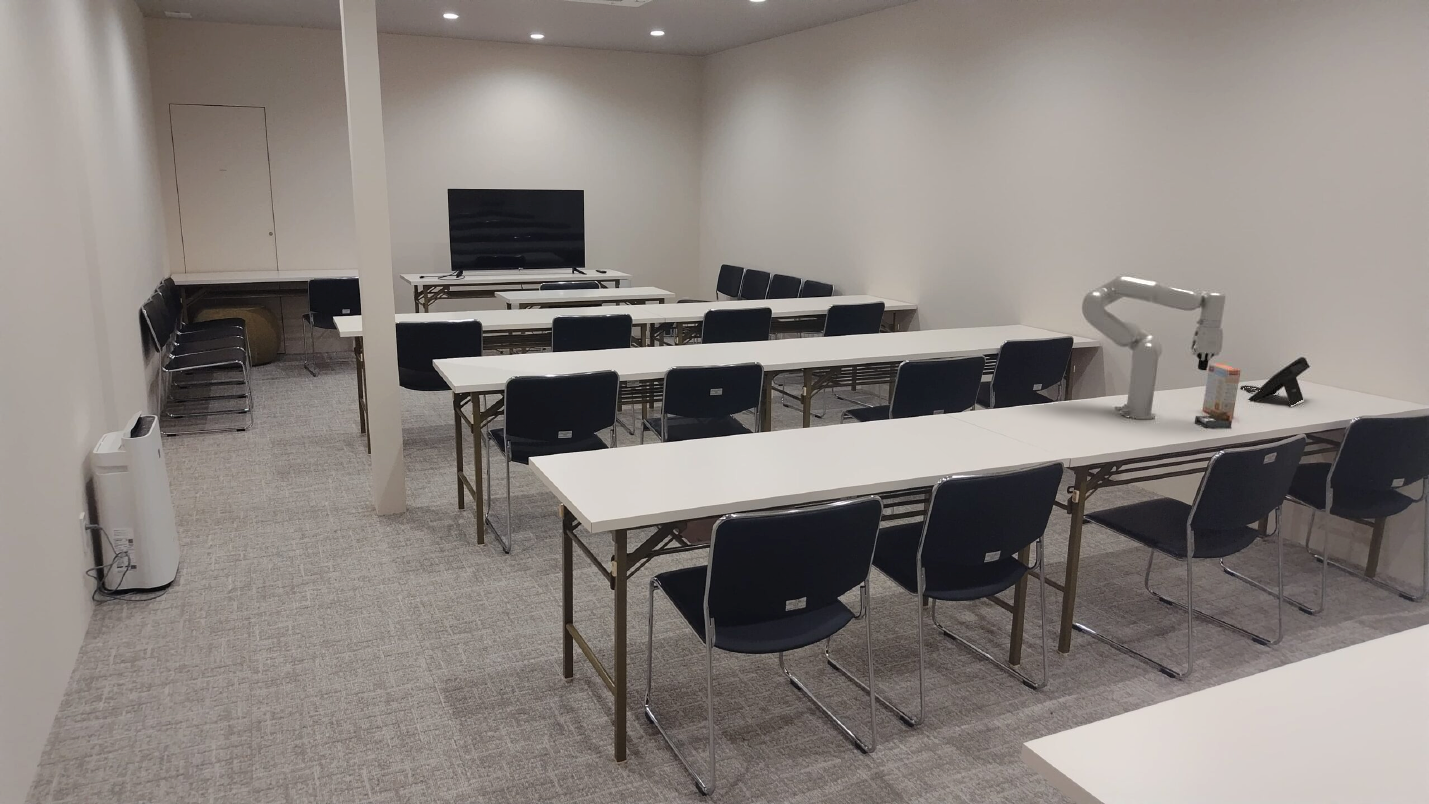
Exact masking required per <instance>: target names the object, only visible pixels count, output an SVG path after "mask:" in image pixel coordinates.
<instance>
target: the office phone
mask: <svg viewBox="0 0 1429 804" xmlns="http://www.w3.org/2000/svg"><path fill="white" fill-rule="evenodd" d="M1310 367H1311V366H1310V365H1309V363H1308V361H1307V358H1305V357H1304V356H1301V357H1299V358H1297V359H1295V360H1294V361H1293V362H1291V363H1289V364H1288V365H1286V366H1285V367H1283V368H1282V369H1281V370H1279V371H1278V372H1277V373H1275V374H1273V376H1271V377H1270V378H1269V379H1268V380H1267V381H1266V382H1265V383H1264V384H1263V385H1262V386H1260V387H1258V386H1255V385H1240V389H1241V388H1242V389H1243V388H1244V390H1243V391H1245V390H1247V391H1248V393H1250V392H1251V393H1253V392H1254V394H1253V395H1251V396H1249V398H1248V399H1247V400H1250V401H1249V402H1252V401H1256V402H1259V401H1261V400H1263V398H1264V399H1266V398H1269V397H1271V396H1274V395H1273V394H1275V393H1276V394H1278V395H1277V396H1279V395H1280V390H1282V389H1283V388H1284V390H1285V394H1286V396H1287V399H1288V403H1289V406H1290V407H1291V405H1294V404H1296V403H1297V402H1299V401H1301V400H1303V399H1304V397H1303V393H1302V390H1301V386H1300V385H1299V381H1298V378H1297V377H1298V376H1300V375H1301V374H1302V373H1304V372H1305V371H1307V370H1308V369H1310ZM1245 387H1250V388H1256V389H1258V390H1260V391H1258V390H1256V389H1250V388H1245ZM1242 389H1241V390H1242ZM1247 391H1246V392H1247ZM1270 395H1271V396H1270ZM1268 396H1269V397H1268ZM1265 397H1266V398H1265ZM1258 400H1259V401H1258Z"/></svg>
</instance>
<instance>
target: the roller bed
mask: <svg viewBox="0 0 1429 804" xmlns="http://www.w3.org/2000/svg"><path fill="white" fill-rule="evenodd" d="M1232 418H1233V419H1234V415H1233V416H1232V415H1229V414H1227V419H1226V420H1216V419H1214V418H1212V417H1210V415H1195V417H1194V424H1196V425H1198V426H1200V425H1201V426H1200V427H1202V426H1203V428H1205V429H1207V428H1210V429H1231V428H1232V425H1233V424H1232V423H1233V419H1232Z"/></svg>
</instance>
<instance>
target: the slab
mask: <svg viewBox="0 0 1429 804" xmlns="http://www.w3.org/2000/svg"><path fill="white" fill-rule="evenodd" d="M1227 413H1228V412H1226V411H1223V410H1220V409H1211V411H1210V414H1209V416H1210V417H1212V418H1214V419H1216V420H1226V419H1227Z"/></svg>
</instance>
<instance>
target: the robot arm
mask: <svg viewBox="0 0 1429 804" xmlns="http://www.w3.org/2000/svg"><path fill="white" fill-rule="evenodd" d="M1122 298H1128V299H1132V300H1133V299H1134V300H1139V301H1143V302H1148V303H1152V304H1155V305H1159V306H1163V307H1168V308H1172V309H1176V310H1182V311H1186V312H1187V311H1189V312H1191V311H1194V310H1197V309H1200V310H1201V311H1200V316H1199V320H1197V321H1196V322H1195V323H1196V325H1198V326H1196V328H1195V331H1194V334H1193V337H1192V341H1191V352H1190V354H1191V355H1193V356H1195V357H1197V359H1198V363H1197V368H1198V370H1200V371H1207V368H1209V361H1211V359H1213V357H1216V356H1219V354H1220V353H1221V352H1222V350H1223V349H1222V348H1223V342H1224V341H1223V339H1224V335H1223V334H1224V331H1223V328H1222V327H1221V326H1222V321H1223V316H1224V315H1223V314H1224V309H1225V305H1226V294H1225V293H1223V292H1220V291H1219V292H1218V291H1203V290H1200V289H1189V290H1183V289H1180V288H1179V289H1178V288H1175V287H1170V286H1167V285H1165V284H1163V283H1161V282H1160V281H1156V280H1151V279H1146V278H1141V277H1135V276H1134V275H1132V274H1130V273H1123V274H1120V275H1118V276H1116V277H1115V278H1113V279H1112V280H1110V281H1108V282H1106V283H1104V284H1102V285H1101V286H1098V287H1097V288H1094V289H1093V290H1090V291H1089V292H1087V293H1086V294H1085V295H1084V298H1083V301H1082V304H1081V310H1082V315H1083V317H1084V319H1085V320H1086V322H1087V323H1089V325H1091V326H1092V327H1093V328H1094V329H1096V330H1097V331H1098V332H1100V333H1101V334H1102V335H1103V336H1105V337H1106V338H1108V339H1109V340H1110V341H1111V342H1112V343H1114V344H1115V346H1118V347H1121V348H1127V349H1129V350H1131V351H1132V353H1131V354H1132V355H1131V365H1130V366H1131V367H1130V376H1129V378H1130V379H1129V383H1128V385H1129V386H1128V392H1127V393H1128V394H1127V401H1126V403H1124V405H1122V406H1118V405H1117V406H1115V407H1114V410H1115V411H1116V412H1121V415H1122V414H1123V415H1125V416H1124V417H1126V416H1129V417H1134V418H1136V419H1135V420H1144V419H1148V420H1153V419H1155V417H1156V414H1155V413H1153V411H1152V409H1153V404H1154V403H1153V402H1154V395H1155V387H1156V381H1157V373H1158V372H1157V371H1158V363H1159V357H1160V356H1161V355H1162V352H1163V345H1162V343H1161V342H1160V341H1159V339H1157V338H1156V337H1155V336H1153V335H1151V334H1150V333H1149V332H1147V331H1146V330H1144V329H1143V328H1142V327H1140V326H1139V325H1137V324H1136V323H1134V322H1131V321H1125V322H1124V321H1122V320H1121V319H1120V318H1118V317H1117V316H1116V315H1114V314H1112V313H1111V312H1110V311H1108V310H1107V309H1106V307H1107V306H1109V305H1112V304H1113V303H1114V302H1117V301H1119V300H1120V299H1122ZM1123 415H1122V416H1123ZM1129 417H1128V418H1129ZM1134 418H1133V419H1134Z"/></svg>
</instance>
